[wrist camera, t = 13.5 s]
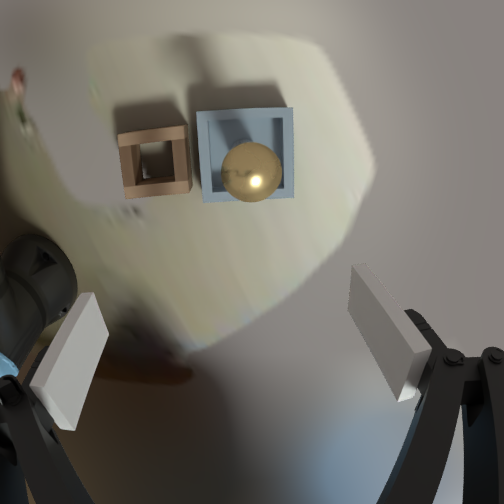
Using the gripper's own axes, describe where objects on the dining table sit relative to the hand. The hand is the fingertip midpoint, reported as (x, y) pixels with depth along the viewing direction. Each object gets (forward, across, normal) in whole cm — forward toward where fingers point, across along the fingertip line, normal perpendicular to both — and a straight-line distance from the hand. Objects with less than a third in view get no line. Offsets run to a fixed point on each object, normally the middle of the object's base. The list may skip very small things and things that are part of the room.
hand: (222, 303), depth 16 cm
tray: (+28, -3, -3) cm, 28 cm away
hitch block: (+28, +8, -4) cm, 29 cm away
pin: (+27, -3, -4) cm, 27 cm away
